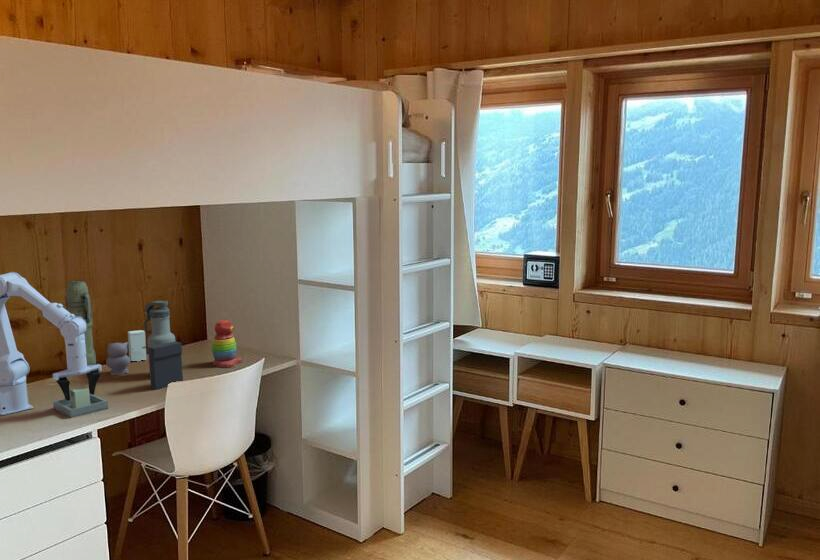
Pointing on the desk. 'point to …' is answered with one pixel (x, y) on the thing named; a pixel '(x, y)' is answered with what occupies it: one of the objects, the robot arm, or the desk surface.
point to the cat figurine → (118, 358)
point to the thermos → (81, 313)
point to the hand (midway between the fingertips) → (79, 396)
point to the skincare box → (137, 345)
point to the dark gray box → (165, 364)
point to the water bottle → (158, 324)
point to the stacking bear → (224, 345)
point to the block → (79, 397)
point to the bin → (94, 406)
